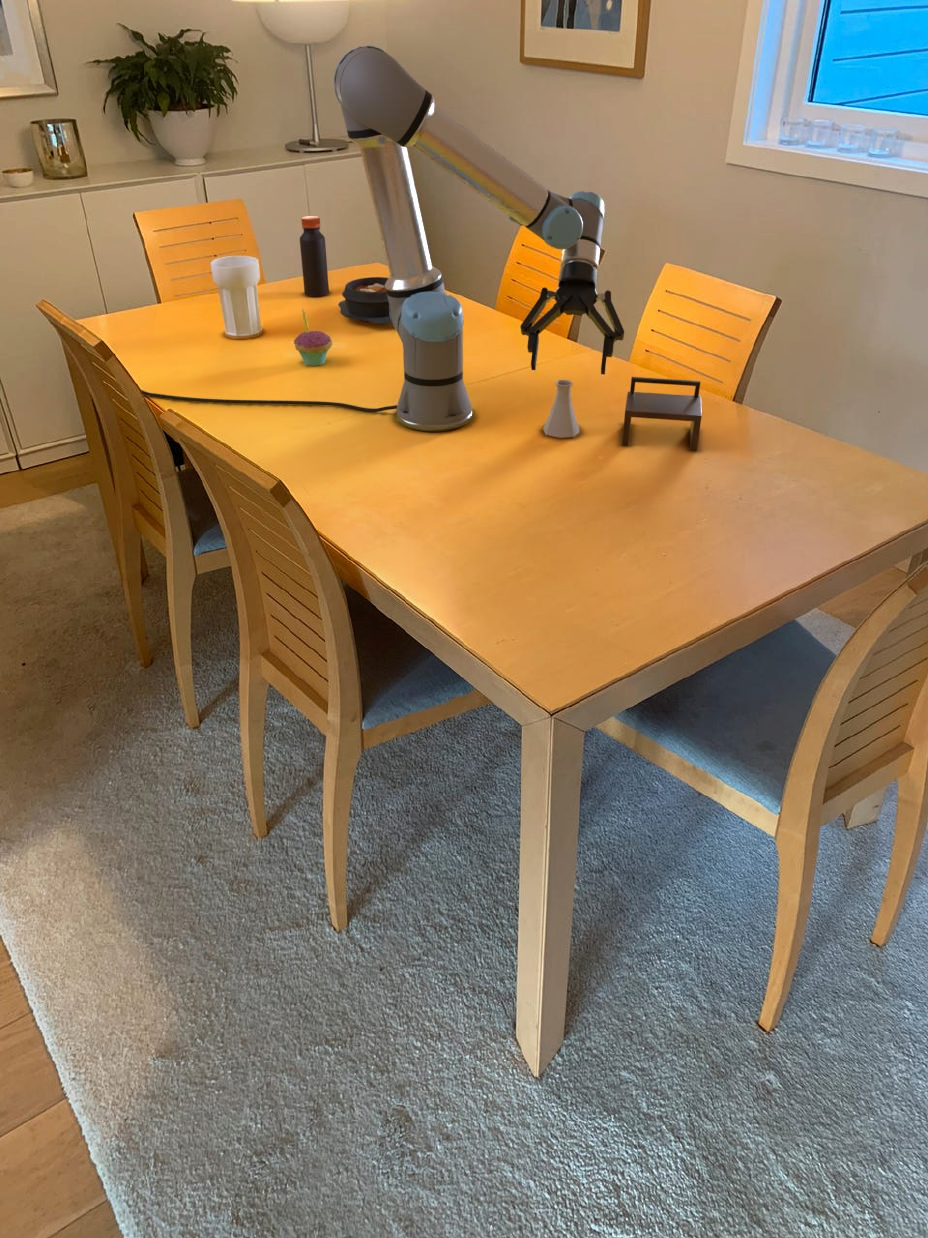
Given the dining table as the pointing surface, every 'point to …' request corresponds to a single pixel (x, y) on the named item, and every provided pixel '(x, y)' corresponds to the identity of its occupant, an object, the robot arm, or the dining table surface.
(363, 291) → the casserole
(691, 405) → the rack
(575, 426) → the flask
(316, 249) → the bottle
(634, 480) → the dining table surface
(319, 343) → the cupcake
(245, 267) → the cup
